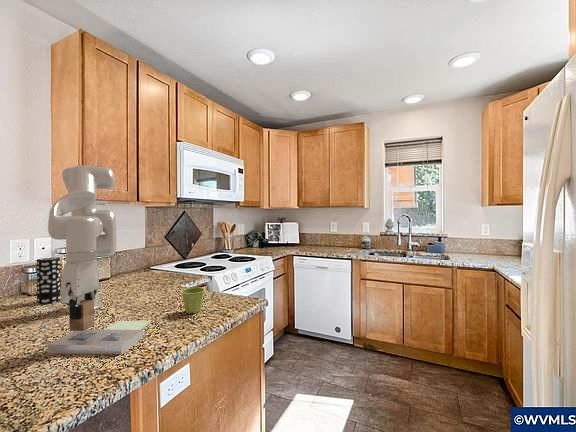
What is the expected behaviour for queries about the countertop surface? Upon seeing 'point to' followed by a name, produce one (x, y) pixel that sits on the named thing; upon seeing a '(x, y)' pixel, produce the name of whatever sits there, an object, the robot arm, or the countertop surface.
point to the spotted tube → (48, 281)
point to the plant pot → (193, 299)
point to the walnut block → (83, 316)
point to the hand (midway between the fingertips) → (82, 315)
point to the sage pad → (128, 325)
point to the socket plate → (96, 341)
